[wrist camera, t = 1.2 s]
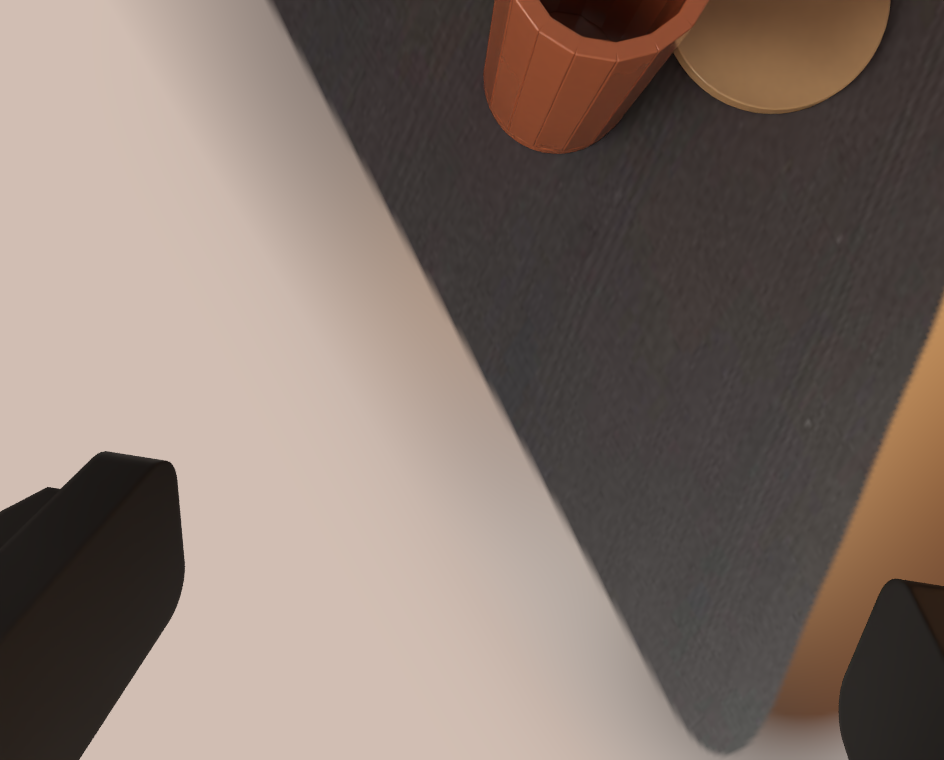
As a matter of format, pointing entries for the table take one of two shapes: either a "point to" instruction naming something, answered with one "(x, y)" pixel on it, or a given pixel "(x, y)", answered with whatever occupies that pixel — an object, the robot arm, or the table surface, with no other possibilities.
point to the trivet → (781, 50)
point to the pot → (576, 64)
